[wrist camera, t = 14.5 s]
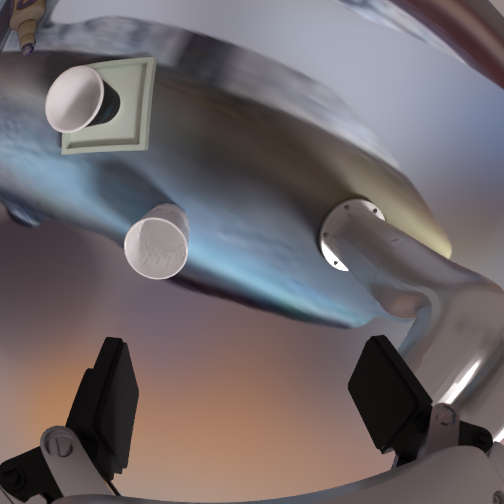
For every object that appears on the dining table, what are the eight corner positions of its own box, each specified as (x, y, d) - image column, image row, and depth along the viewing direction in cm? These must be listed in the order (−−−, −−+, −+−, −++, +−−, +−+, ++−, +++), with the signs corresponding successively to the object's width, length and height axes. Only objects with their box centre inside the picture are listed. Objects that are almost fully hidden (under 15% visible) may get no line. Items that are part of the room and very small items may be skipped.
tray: (156, 60, 31) (154, 56, 29) (148, 149, 36) (144, 150, 34) (75, 70, 29) (69, 67, 27) (67, 153, 34) (61, 154, 32)
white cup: (180, 256, 43) (172, 288, 34) (135, 236, 41) (116, 263, 32) (202, 212, 41) (198, 235, 32) (154, 190, 39) (137, 206, 30)
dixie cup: (84, 86, 30) (47, 74, 20) (132, 77, 31) (105, 59, 21) (82, 135, 33) (44, 138, 23) (130, 129, 34) (102, 127, 24)
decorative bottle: (23, -21, 16) (8, -31, 10) (54, -41, 16) (41, -53, 10) (19, 70, 26) (-2, 65, 20) (52, 48, 26) (32, 39, 20)
